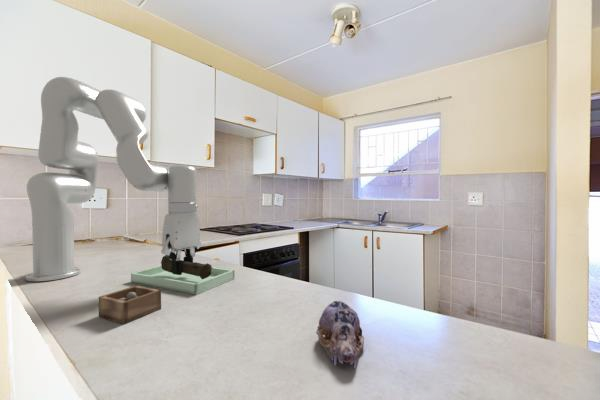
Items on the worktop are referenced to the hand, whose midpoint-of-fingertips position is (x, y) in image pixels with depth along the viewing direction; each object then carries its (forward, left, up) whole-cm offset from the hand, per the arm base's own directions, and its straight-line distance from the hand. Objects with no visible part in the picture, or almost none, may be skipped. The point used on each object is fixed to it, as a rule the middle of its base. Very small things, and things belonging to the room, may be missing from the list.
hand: (182, 271), depth 81 cm
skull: (+52, -16, -3) cm, 54 cm away
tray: (0, 0, -2) cm, 2 cm away
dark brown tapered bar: (0, 0, -1) cm, 1 cm away
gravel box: (+8, -21, -2) cm, 23 cm away
